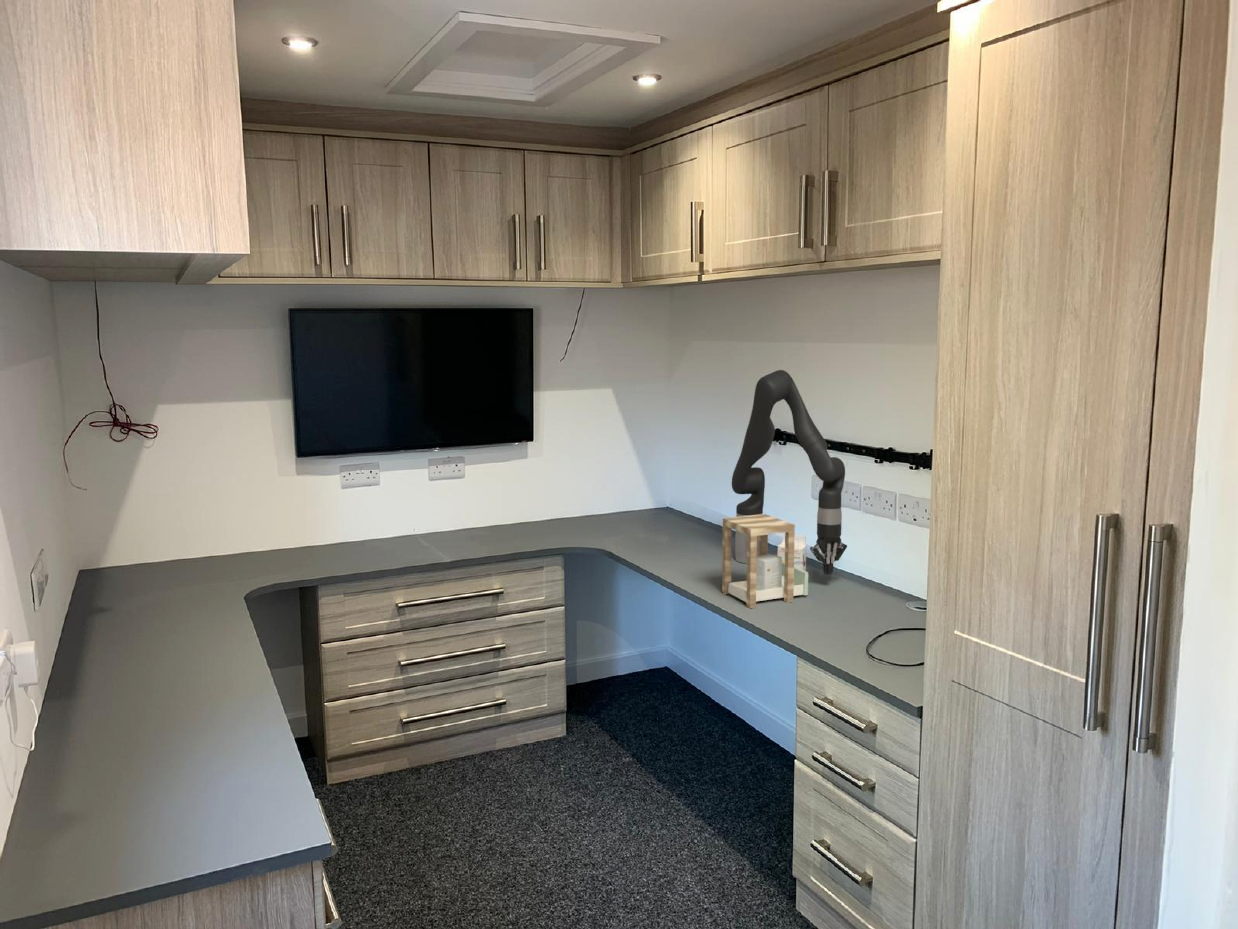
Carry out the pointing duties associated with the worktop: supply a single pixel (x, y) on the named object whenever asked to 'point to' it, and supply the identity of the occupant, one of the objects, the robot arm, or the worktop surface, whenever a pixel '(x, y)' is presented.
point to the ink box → (795, 551)
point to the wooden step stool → (753, 528)
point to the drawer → (799, 588)
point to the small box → (768, 572)
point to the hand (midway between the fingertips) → (827, 574)
